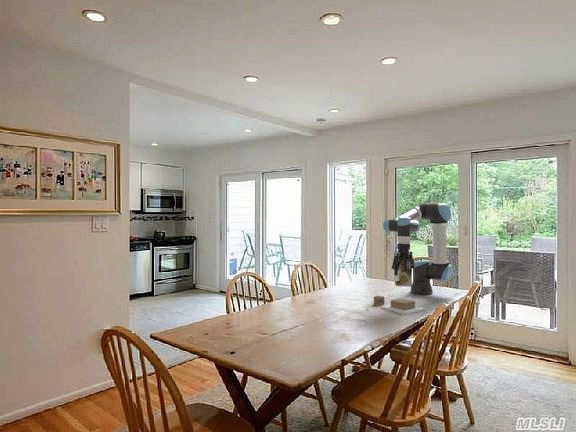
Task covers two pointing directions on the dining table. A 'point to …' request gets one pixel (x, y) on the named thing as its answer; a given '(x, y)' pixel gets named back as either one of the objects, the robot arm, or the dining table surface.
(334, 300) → the dining table surface
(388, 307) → the tower base
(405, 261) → the coffee box
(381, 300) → the brick
